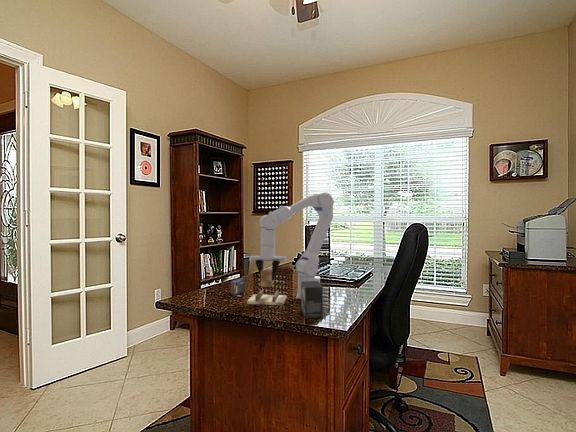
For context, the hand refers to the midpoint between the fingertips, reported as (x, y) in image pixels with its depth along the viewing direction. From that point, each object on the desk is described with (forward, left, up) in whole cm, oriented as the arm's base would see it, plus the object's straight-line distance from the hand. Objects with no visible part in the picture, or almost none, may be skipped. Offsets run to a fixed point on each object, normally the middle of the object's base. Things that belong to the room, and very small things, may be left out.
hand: (267, 279), depth 137 cm
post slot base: (0, 0, -8) cm, 8 cm away
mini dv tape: (+15, -12, -9) cm, 21 cm away
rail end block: (0, 0, -2) cm, 2 cm away
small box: (-18, +16, -9) cm, 26 cm away
